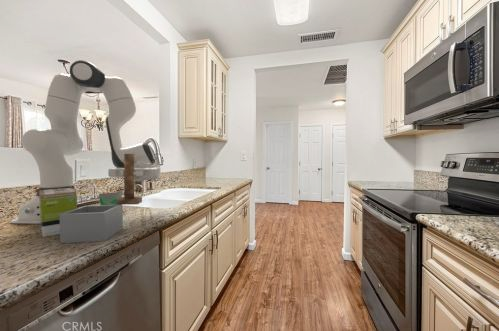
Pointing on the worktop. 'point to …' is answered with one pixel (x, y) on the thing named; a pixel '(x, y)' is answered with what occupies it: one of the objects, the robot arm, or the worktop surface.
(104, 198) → the food container
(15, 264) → the worktop surface
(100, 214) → the gray open-top rectangular bin
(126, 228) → the worktop surface
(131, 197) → the brown wooden post
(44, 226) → the tea box
